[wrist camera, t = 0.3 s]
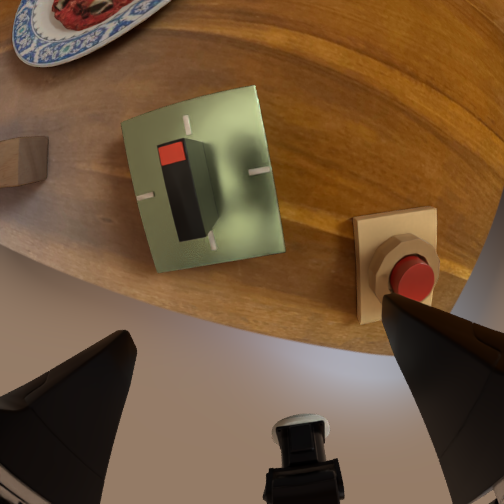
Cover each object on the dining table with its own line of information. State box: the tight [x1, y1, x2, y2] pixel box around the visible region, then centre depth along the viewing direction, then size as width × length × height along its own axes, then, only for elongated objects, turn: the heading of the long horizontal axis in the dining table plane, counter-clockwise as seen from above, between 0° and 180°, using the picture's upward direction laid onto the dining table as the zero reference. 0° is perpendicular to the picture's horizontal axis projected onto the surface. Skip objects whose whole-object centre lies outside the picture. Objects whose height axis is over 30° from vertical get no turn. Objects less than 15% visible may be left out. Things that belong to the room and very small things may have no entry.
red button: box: [390, 256, 435, 302], centre depth 20 cm, size 4×4×2 cm
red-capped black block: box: [157, 138, 218, 242], centre depth 16 cm, size 6×2×5 cm, turn 11°
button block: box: [353, 206, 440, 325], centre depth 22 cm, size 10×8×3 cm
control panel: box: [121, 85, 286, 273], centre depth 20 cm, size 12×10×3 cm
